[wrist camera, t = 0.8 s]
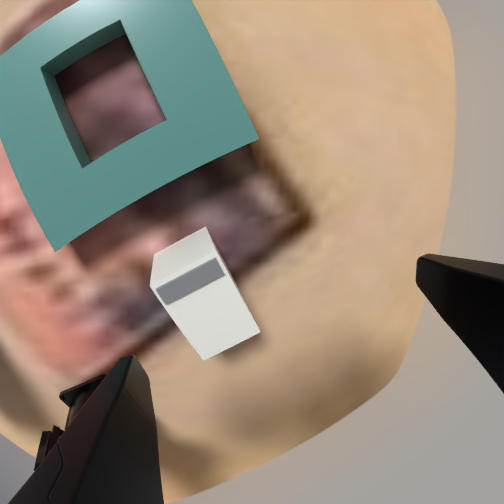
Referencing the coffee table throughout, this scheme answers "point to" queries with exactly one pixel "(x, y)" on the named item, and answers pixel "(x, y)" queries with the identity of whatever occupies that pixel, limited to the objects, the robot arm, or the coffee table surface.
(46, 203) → the socket board
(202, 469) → the coffee table surface
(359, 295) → the coffee table surface
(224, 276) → the plug
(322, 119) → the coffee table surface
